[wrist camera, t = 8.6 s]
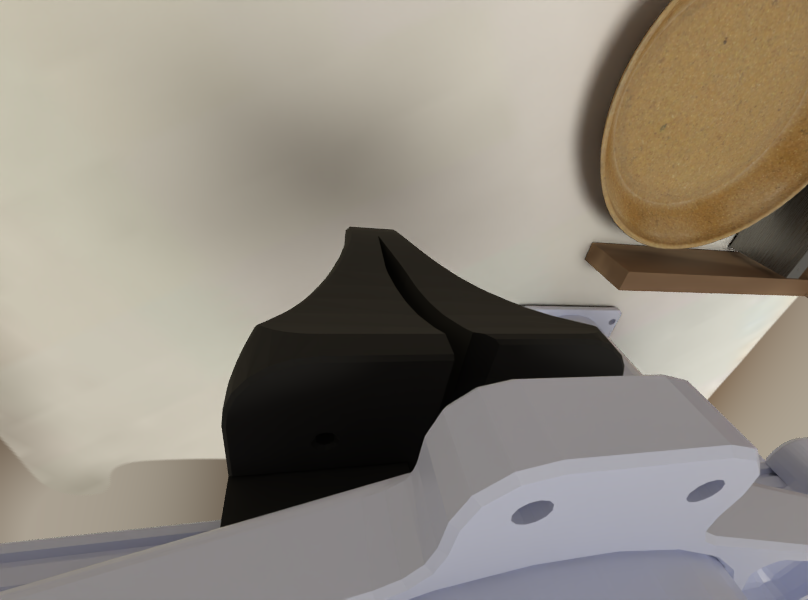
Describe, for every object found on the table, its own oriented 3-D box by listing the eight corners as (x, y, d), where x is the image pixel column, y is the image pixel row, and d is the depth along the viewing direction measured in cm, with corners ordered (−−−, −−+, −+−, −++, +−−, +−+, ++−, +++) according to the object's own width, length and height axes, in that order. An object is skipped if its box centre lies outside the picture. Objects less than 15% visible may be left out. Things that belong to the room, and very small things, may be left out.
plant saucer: (628, 272, 27) (654, 293, 25) (524, 93, 19) (550, 103, 17) (855, 111, 23) (908, 121, 21) (844, -198, 15) (928, -230, 13)
